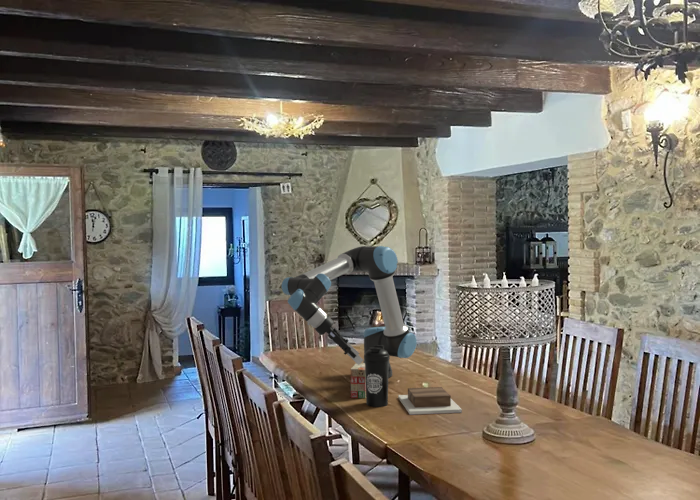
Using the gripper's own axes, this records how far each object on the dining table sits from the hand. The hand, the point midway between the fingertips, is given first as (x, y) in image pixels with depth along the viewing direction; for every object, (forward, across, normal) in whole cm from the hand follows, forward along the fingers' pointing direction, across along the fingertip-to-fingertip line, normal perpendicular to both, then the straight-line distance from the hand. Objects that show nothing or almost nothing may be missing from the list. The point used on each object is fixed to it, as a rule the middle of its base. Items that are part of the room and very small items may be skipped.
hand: (359, 359), depth 250 cm
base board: (+32, +3, +6) cm, 33 cm away
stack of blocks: (+16, -21, -10) cm, 29 cm away
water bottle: (+18, -1, -8) cm, 20 cm away
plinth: (+31, +3, +7) cm, 32 cm away
